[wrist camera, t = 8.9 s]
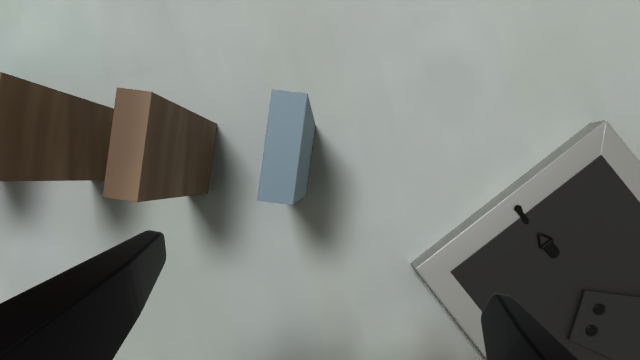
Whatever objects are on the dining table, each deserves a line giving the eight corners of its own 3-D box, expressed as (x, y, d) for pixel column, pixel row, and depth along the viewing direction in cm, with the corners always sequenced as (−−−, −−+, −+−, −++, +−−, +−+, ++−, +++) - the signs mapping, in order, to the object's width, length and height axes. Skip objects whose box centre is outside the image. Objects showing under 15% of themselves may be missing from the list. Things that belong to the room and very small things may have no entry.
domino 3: (315, 125, 24) (307, 93, 15) (306, 195, 24) (292, 205, 15) (293, 122, 24) (271, 89, 15) (283, 192, 24) (257, 200, 15)
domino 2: (216, 124, 24) (151, 92, 15) (207, 193, 24) (137, 201, 16) (194, 120, 24) (116, 87, 16) (185, 190, 25) (102, 197, 16)
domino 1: (121, 111, 25) (1, 72, 16) (111, 180, 25) (-13, 180, 16) (99, 108, 25) (-33, 67, 16) (90, 177, 25) (-47, 176, 16)
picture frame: (768, 354, 24) (582, 124, 24) (826, 378, 21) (615, 117, 22) (588, 488, 25) (407, 260, 25) (622, 528, 22) (417, 271, 22)
